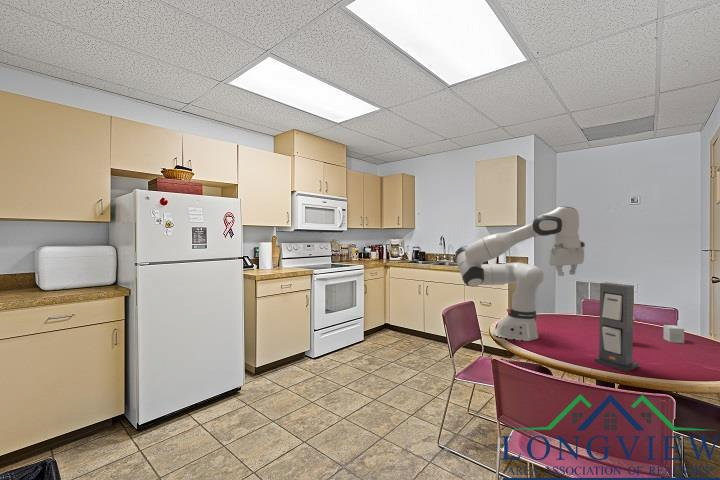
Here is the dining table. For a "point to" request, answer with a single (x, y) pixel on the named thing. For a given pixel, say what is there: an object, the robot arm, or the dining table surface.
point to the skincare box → (673, 333)
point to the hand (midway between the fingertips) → (566, 275)
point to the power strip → (624, 325)
